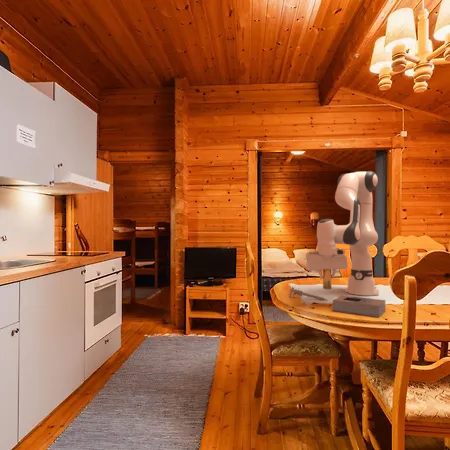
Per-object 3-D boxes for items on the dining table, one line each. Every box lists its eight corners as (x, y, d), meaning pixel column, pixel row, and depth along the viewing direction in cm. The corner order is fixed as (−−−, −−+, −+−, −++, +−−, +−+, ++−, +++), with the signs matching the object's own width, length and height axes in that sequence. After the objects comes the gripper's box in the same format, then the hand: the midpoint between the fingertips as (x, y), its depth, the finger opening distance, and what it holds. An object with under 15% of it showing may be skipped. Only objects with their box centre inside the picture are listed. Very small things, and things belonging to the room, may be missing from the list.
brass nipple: (327, 287, 176) (326, 268, 176) (333, 288, 173) (332, 268, 173) (321, 288, 174) (321, 268, 174) (327, 289, 171) (327, 269, 171)
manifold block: (342, 305, 172) (342, 295, 172) (385, 311, 160) (385, 300, 160) (333, 310, 160) (333, 300, 160) (378, 317, 149) (379, 305, 149)
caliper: (289, 297, 191) (289, 286, 191) (289, 297, 192) (289, 286, 192) (327, 301, 183) (327, 289, 183) (327, 300, 183) (327, 289, 184)
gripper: (307, 252, 170) (308, 279, 170) (348, 250, 171) (349, 278, 171) (304, 251, 177) (305, 278, 177) (343, 250, 177) (344, 276, 177)
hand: (327, 278), depth 174 cm, fingers closed on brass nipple, 4 cm apart
